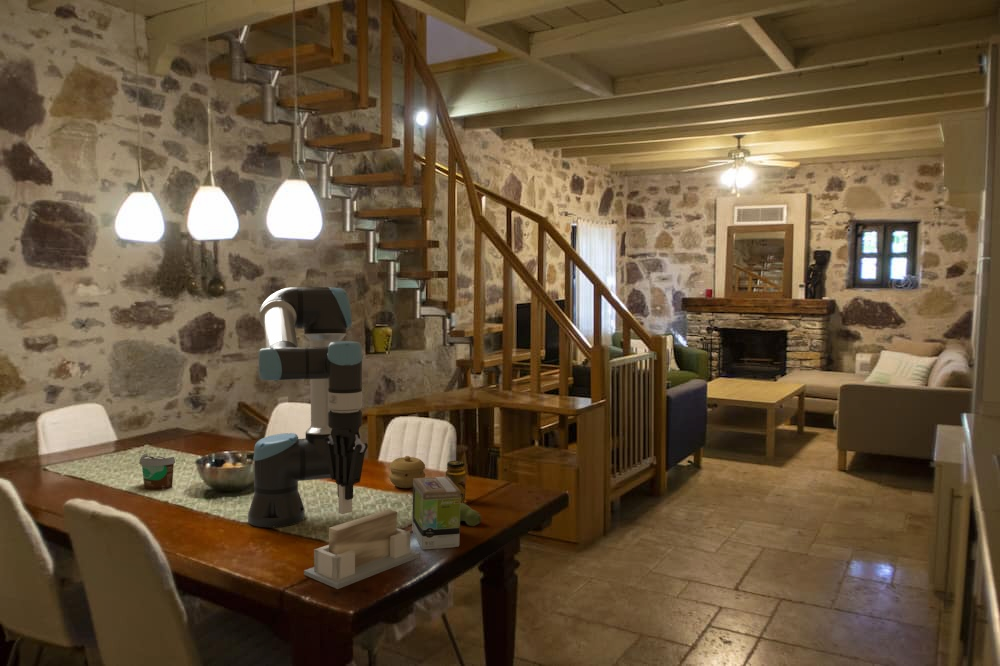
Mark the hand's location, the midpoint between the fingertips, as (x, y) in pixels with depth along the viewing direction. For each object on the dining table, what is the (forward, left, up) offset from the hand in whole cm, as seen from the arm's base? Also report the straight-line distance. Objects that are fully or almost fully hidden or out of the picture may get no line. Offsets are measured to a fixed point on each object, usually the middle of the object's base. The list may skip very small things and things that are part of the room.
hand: (345, 512), depth 170 cm
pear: (-3, +44, -15) cm, 47 cm away
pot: (-41, +59, -14) cm, 73 cm away
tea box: (0, +30, -14) cm, 33 cm away
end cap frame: (0, +6, -14) cm, 15 cm away
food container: (-99, +4, -14) cm, 100 cm away
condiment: (-19, +57, -14) cm, 61 cm away
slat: (0, +6, -13) cm, 14 cm away
